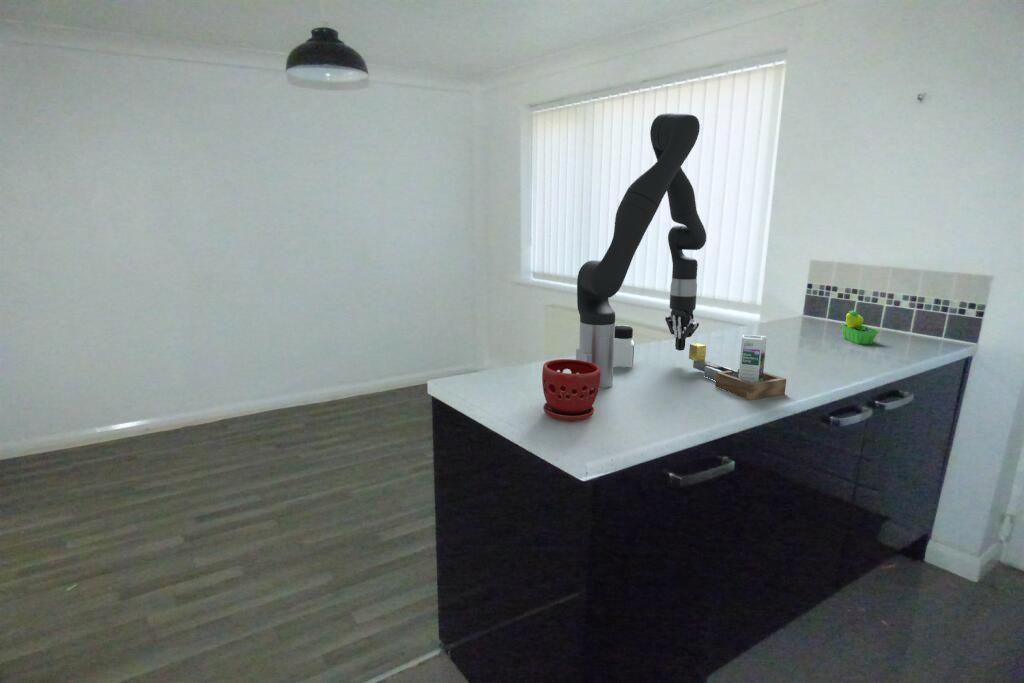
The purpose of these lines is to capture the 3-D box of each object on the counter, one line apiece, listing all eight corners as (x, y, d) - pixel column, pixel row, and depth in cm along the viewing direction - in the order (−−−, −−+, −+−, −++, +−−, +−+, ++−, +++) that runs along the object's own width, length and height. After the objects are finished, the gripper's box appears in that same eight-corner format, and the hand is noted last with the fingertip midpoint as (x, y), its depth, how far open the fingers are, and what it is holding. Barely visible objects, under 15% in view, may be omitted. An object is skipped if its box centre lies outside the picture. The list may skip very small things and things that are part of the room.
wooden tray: (750, 400, 137) (751, 384, 136) (715, 386, 148) (716, 372, 147) (784, 393, 142) (786, 379, 141) (748, 381, 153) (749, 367, 152)
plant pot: (558, 429, 119) (559, 376, 116) (532, 410, 131) (532, 361, 128) (610, 420, 124) (612, 369, 121) (580, 402, 136) (581, 355, 133)
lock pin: (714, 375, 154) (716, 352, 152) (688, 366, 163) (689, 344, 162) (723, 374, 155) (725, 351, 154) (696, 365, 165) (698, 343, 163)
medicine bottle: (633, 368, 166) (634, 329, 163) (608, 366, 167) (610, 328, 165) (632, 362, 173) (634, 324, 170) (609, 360, 174) (611, 323, 171)
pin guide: (724, 385, 149) (725, 373, 149) (703, 377, 157) (704, 366, 156) (738, 382, 151) (739, 371, 151) (717, 375, 158) (718, 364, 158)
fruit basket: (878, 344, 195) (882, 313, 192) (852, 344, 195) (857, 313, 192) (858, 337, 206) (863, 307, 203) (834, 337, 206) (838, 307, 203)
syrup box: (737, 392, 143) (742, 337, 140) (737, 385, 149) (742, 333, 146) (761, 394, 141) (766, 339, 138) (760, 388, 147) (766, 334, 143)
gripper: (709, 295, 160) (704, 353, 164) (678, 290, 172) (675, 344, 176) (688, 297, 158) (684, 356, 161) (659, 291, 169) (656, 346, 173)
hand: (679, 349), depth 169 cm, fingers closed
